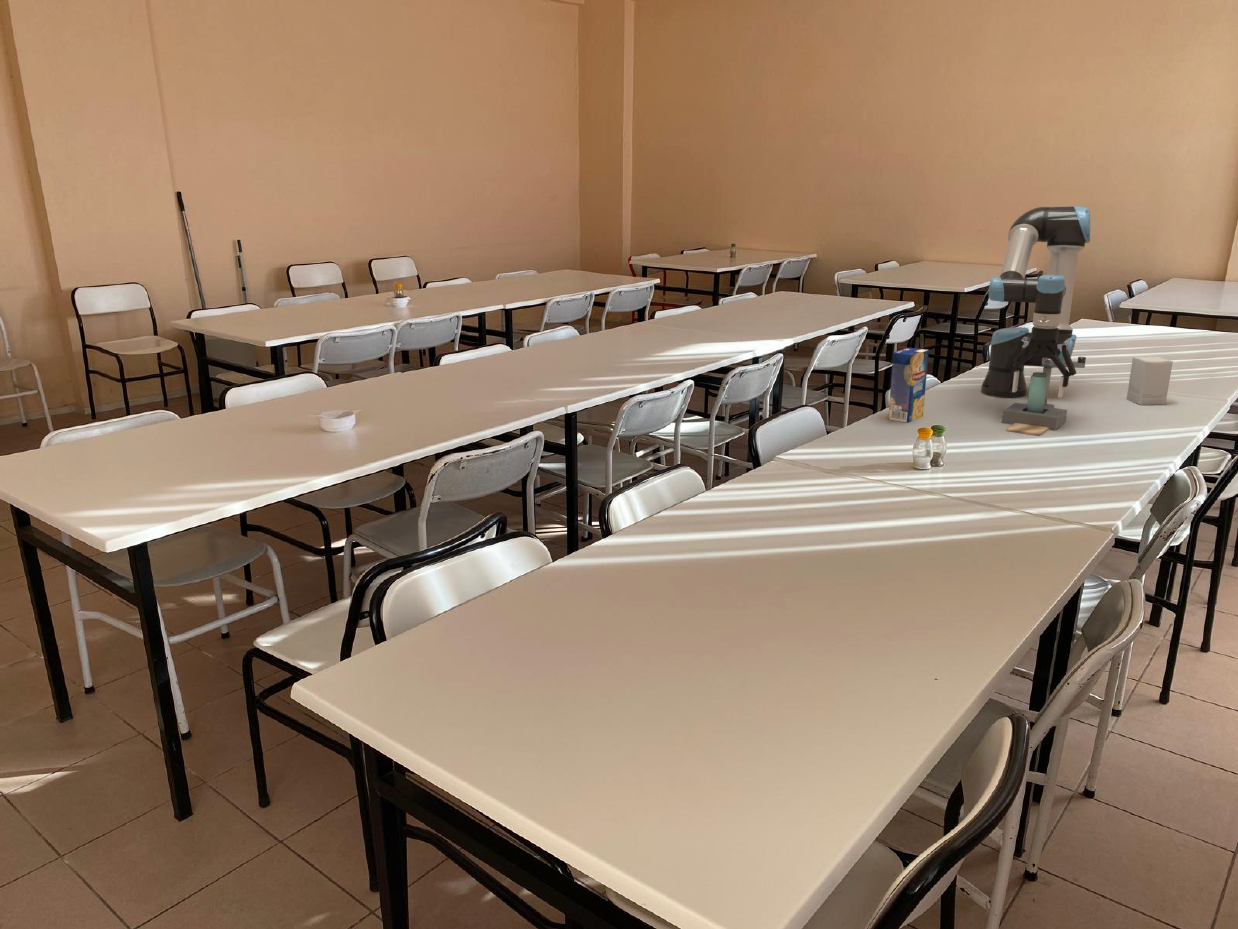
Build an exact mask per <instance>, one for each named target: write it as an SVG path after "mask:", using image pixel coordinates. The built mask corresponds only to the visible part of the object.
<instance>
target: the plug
mask: <svg viewBox="0 0 1238 929" xmlns="http://www.w3.org/2000/svg"><path fill="white" fill-rule="evenodd" d="M1047 379H1048V376H1047V374H1046V373H1043V371H1042V372H1039V371H1035V372H1033V373H1032V374H1031V375H1030V381H1029V390H1028V398H1027V412H1034V413H1042V414H1043V411H1044V403H1045V395H1046V387H1047Z"/></svg>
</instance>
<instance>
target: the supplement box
mask: <svg viewBox="0 0 1238 929" xmlns="http://www.w3.org/2000/svg"><path fill="white" fill-rule="evenodd" d="M1172 368H1173V361H1172V360H1170V359H1167V358H1163V357H1161V356H1156V355H1155V356H1132V361H1131V366H1130V374H1129V380H1128V386H1127V393H1126V400H1128V401H1130V402H1132V403H1134V404H1137V405H1140V406H1142V405H1143V406H1144V405H1146V406H1148V405H1149V406H1150V405H1153V406H1154V405H1160V406H1161V405H1162V406H1163V405H1164V406H1165V405H1166V403H1167V396H1168V392H1169V386H1170V379H1171V375H1172V374H1171V373H1172Z"/></svg>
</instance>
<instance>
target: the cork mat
mask: <svg viewBox="0 0 1238 929" xmlns="http://www.w3.org/2000/svg"><path fill="white" fill-rule="evenodd" d="M1048 430H1049V427H1042V426H1035V425H1028V424H1021V423H1014V424H1010V426H1008V427H1007V428H1005V432H1011V433H1018V434H1022V435H1023V434H1024V435H1031V436H1036V435H1039V436H1038V437H1041V436H1042V435H1043V434H1045V433H1046V432H1047V431H1048ZM1045 431H1046V432H1045ZM1044 432H1045V433H1044ZM1040 435H1041V436H1040Z"/></svg>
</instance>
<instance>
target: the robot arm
mask: <svg viewBox="0 0 1238 929" xmlns="http://www.w3.org/2000/svg"><path fill="white" fill-rule="evenodd" d="M1007 240H1008V246H1007V249H1006V253H1005V256H1004V259H1003V262H1002V266H1001V269H1000V272H999V276H997V277H992V278H991V279H990V281H989V286H988V299H989V300H990V301H992V302H1000V303H1005V302H1006V303H1033V304H1034V310H1033V315H1032V316H1033V318H1032V326H1033V327H1032V328H1031V332H1030V330H1029V328H1028V327H1025V326H1024V327H1022V326H1018V327H1016V326H1015V327H1007V328H1005V327H1004V328H1000V329H997V330H995V331H994V332H993V333H992V337H991V341H990V352H989V362H988V370H987V373H986V375H985V377H984V380H983V382H982V384H981V387H980V393H982V394H984V395H988V396H991V397H999V398H1020V397H1021V398H1022V397H1025V396H1026V395H1027V391H1028V386H1027V382H1026V378H1025V373H1024V372H1025V371H1024V370H1025V366H1026V367H1041V368H1043V366H1042V358H1050V359H1051V360H1052V361H1053V362H1054V363H1055V365H1056V366H1057V367H1051V368H1052V369H1054V368H1055V369H1056V368H1057V369H1058V370H1059V372H1060V373H1061V376H1060V379H1059V386H1058V395H1057V398H1058V399H1062V398H1063V397H1064V390H1065V388H1067V387H1068V385H1069V380H1070V377H1072V376H1074V375H1077V370H1076V368H1075V367H1074V365H1073V362H1074V361H1073V360H1072V354H1073V351H1074V348H1075V344H1076V340H1077V335H1076V334H1074V333H1073V330H1074V329H1073V328H1072V327H1071V325H1070V319H1071V318H1070V317H1071V310H1072V304H1073V303H1072V302H1073V295H1074V288H1075V282H1076V274H1077V268H1078V259H1079V253H1080V252H1081V251H1083V250H1084V249H1085V247H1086V244H1088V243H1090V242H1091V211H1090V209H1089V208H1088V207H1086V206H1051V207H1050V206H1040V207H1034V208H1033V209H1030V210H1028V211H1026V212H1024V213H1023V214H1021V215H1020V216H1019V217H1018V218H1017V219H1016V220H1015V221H1014V222H1013V223H1012V225H1011V227H1010V228H1009V231H1008V235H1007ZM1037 243H1046V248H1047V250H1048V251H1049V252H1050V254H1049V255H1050V257H1049V262H1048V263H1049V264H1048V270H1047V274H1045V275H1039V277H1038V278H1027V277H1026V274H1027V270H1028V266H1029V262H1030V258H1031V256H1032V255H1031V254H1032V251H1033V247H1034V246H1035V245H1036V244H1037ZM1061 361H1065V362H1066V365H1067V367H1065V366H1064V365H1063V363H1062V362H1061ZM1072 361H1073V362H1072Z"/></svg>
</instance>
